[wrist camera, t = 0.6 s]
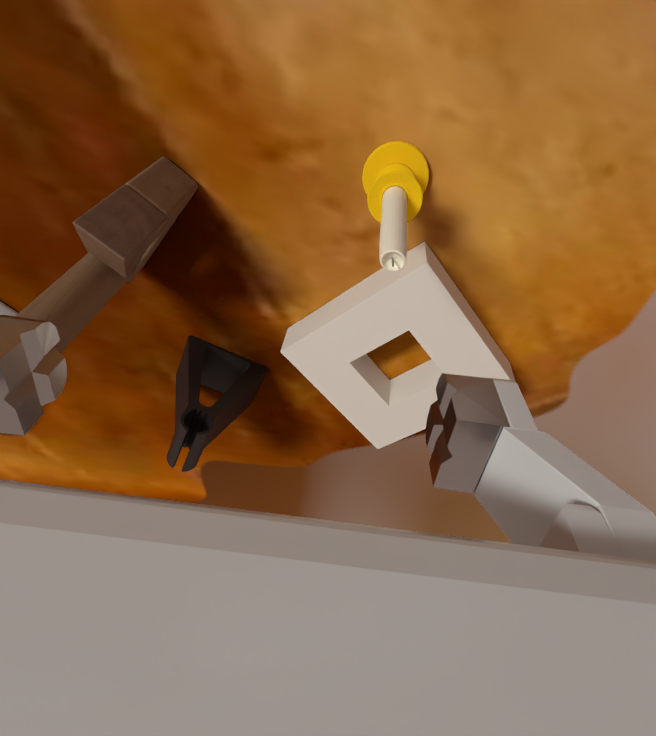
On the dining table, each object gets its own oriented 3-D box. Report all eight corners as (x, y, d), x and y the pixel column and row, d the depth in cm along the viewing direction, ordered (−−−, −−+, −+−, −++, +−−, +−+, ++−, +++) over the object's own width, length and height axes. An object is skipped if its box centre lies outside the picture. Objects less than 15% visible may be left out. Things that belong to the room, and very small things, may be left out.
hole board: (424, 240, 41) (426, 262, 38) (509, 363, 48) (517, 389, 45) (288, 328, 48) (280, 351, 45) (378, 423, 55) (377, 449, 52)
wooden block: (201, 184, 40) (96, 291, 26) (144, 267, 46) (33, 390, 32) (163, 152, 39) (31, 247, 25) (109, 242, 45) (-22, 359, 31)
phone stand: (268, 367, 52) (239, 451, 43) (251, 402, 56) (221, 486, 46) (190, 334, 50) (142, 413, 41) (177, 372, 54) (131, 452, 45)
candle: (401, 220, 40) (402, 322, 28) (350, 184, 39) (327, 276, 27) (442, 166, 37) (463, 255, 25) (388, 125, 36) (382, 199, 24)
